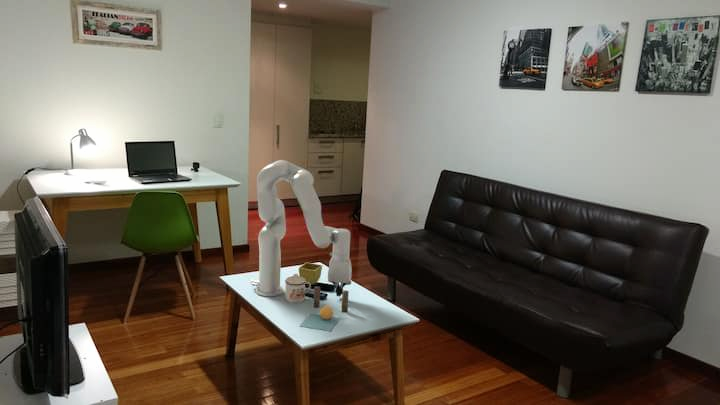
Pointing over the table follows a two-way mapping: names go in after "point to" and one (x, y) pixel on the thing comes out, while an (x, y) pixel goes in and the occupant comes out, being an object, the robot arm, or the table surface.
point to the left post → (316, 297)
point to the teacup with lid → (296, 288)
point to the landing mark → (319, 322)
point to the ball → (326, 312)
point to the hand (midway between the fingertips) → (339, 295)
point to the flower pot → (310, 272)
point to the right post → (345, 301)
